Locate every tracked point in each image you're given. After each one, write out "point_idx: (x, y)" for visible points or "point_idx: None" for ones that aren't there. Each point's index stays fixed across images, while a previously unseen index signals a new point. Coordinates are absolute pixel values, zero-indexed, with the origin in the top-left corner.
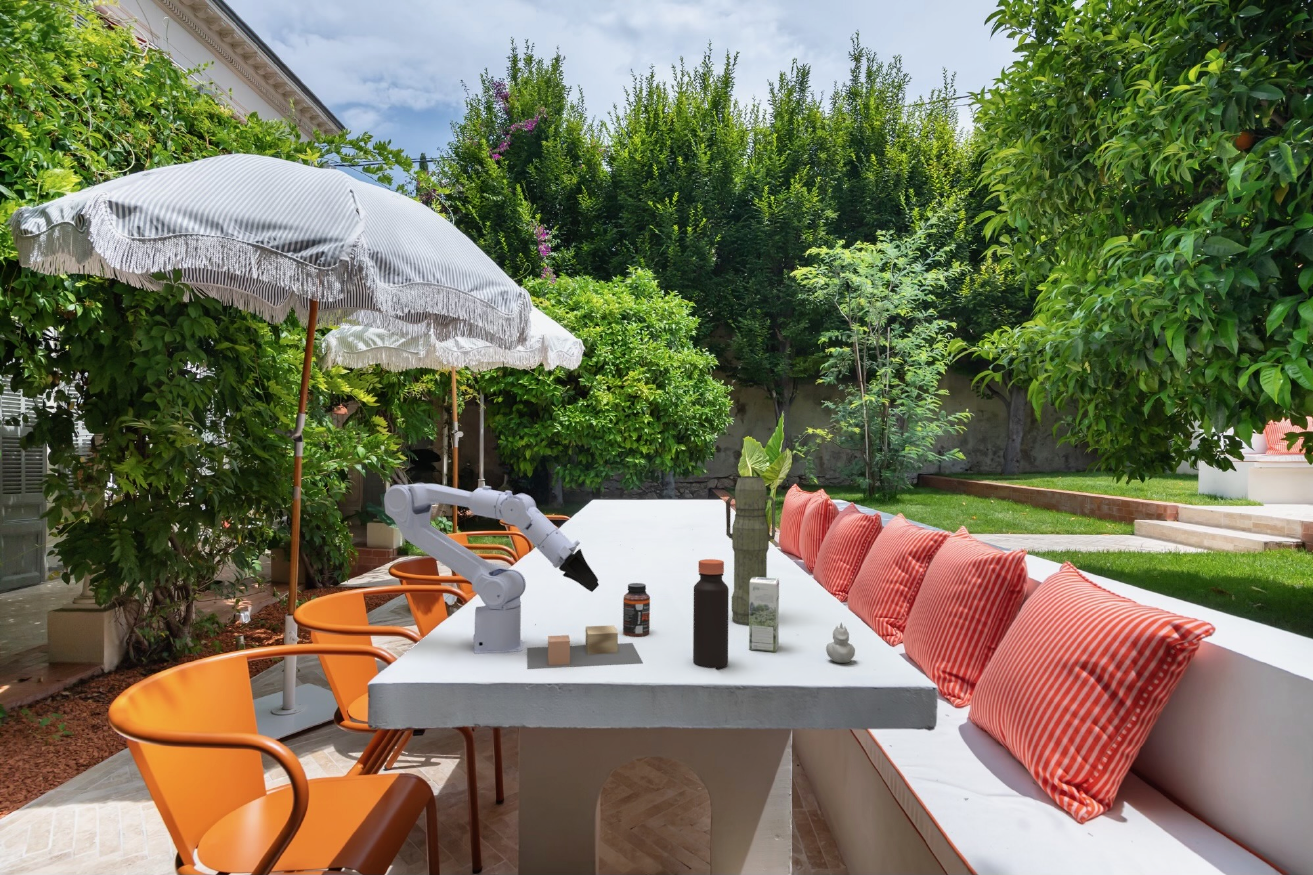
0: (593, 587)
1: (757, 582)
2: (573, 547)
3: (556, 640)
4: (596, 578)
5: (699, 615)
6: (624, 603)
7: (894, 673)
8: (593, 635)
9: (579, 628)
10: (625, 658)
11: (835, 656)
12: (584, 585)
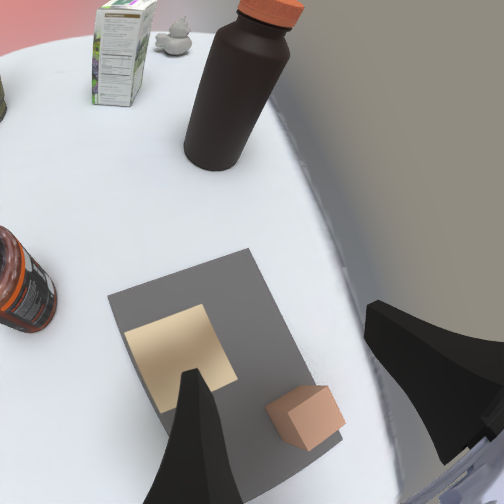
0: (209, 392)
1: (146, 7)
2: (499, 471)
3: (334, 414)
4: (387, 305)
5: (266, 99)
6: (7, 310)
7: (203, 38)
8: (230, 366)
9: (14, 448)
10: (229, 287)
11: (186, 49)
12: (222, 437)
